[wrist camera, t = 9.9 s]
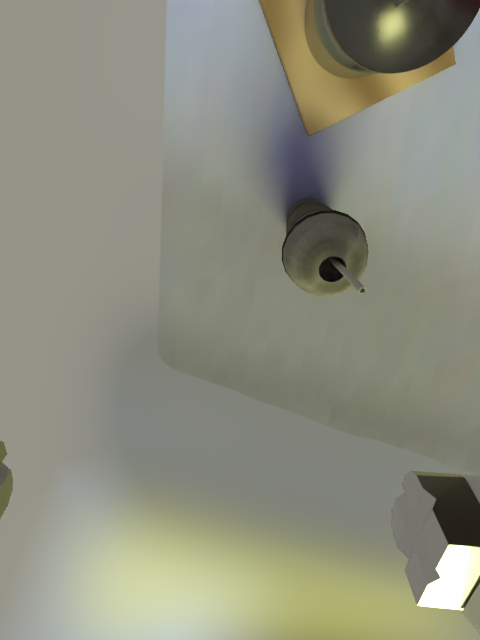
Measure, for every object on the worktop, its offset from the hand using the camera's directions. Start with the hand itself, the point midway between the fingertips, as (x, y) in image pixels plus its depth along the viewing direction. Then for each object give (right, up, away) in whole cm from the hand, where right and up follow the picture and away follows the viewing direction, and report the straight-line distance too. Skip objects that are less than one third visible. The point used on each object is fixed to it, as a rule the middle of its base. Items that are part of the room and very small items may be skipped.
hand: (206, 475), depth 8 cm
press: (+12, +30, +27) cm, 42 cm away
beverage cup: (+8, +14, +37) cm, 41 cm away
